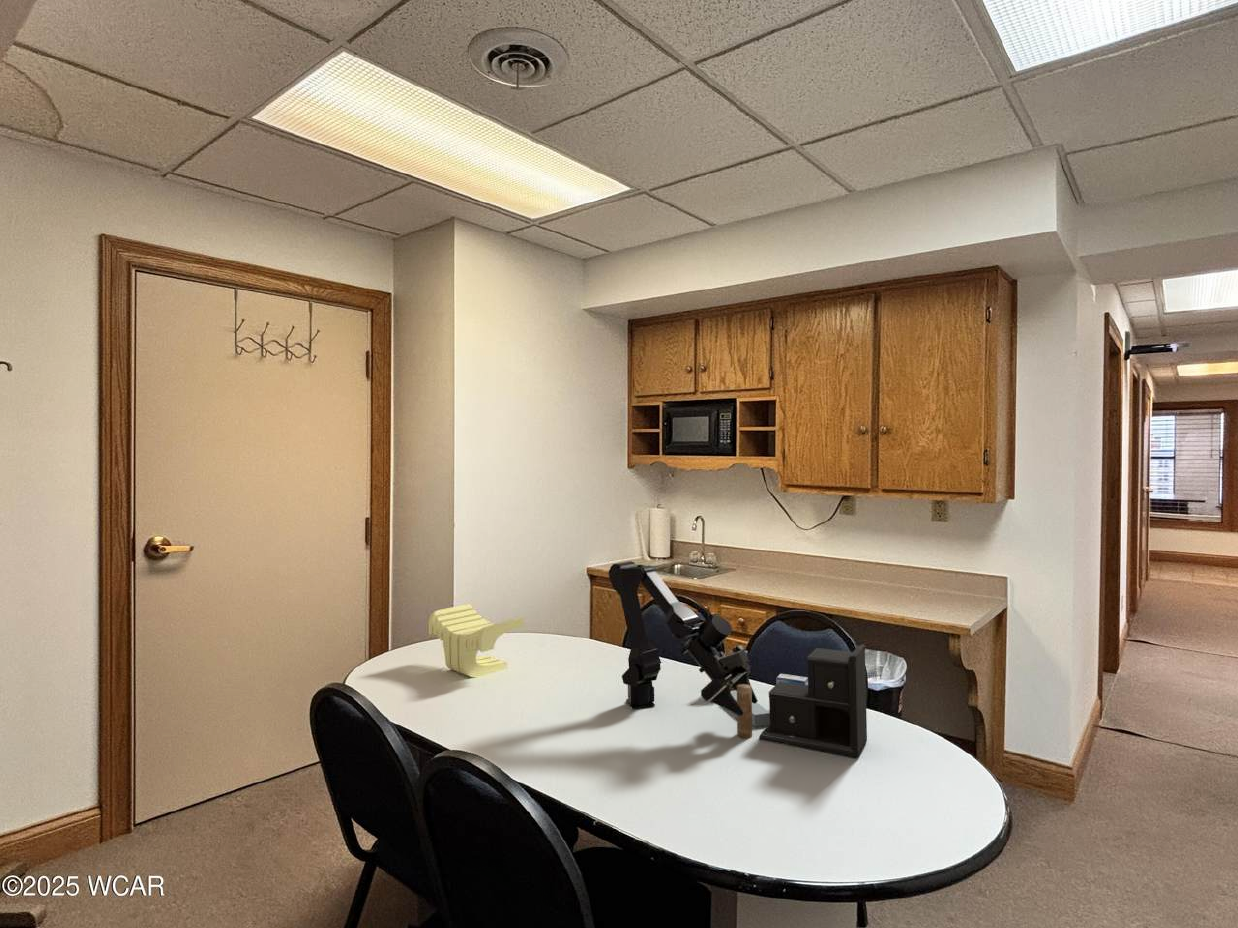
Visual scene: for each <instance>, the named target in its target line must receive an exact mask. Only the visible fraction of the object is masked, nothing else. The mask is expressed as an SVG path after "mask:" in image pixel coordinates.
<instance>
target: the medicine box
mask: <svg viewBox="0 0 1238 928" xmlns="http://www.w3.org/2000/svg"><path fill="white" fill-rule="evenodd" d="M775 680H776V682H775V683H776V684H777V683H778V682H779V681H780V682H788V683H795V684H803V685H808V676H801V675H800V676H799V675H793V674H787V673H779V675H778V676H777V677H776V679H775ZM776 684H775V685H776Z"/></svg>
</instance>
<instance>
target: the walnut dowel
mask: <svg viewBox="0 0 1238 928" xmlns="http://www.w3.org/2000/svg"><path fill="white" fill-rule="evenodd" d="M752 689H753V687H752V685H751V686H750V685H747V684H740V685H737V703H738V705H739V706H740V708H741V709H742V711H743V714H742V715H741V716H739V715H737V714H736V726H737V727H736V735H737V737H739V738H741V739H749V738H752V737H753V725H752Z"/></svg>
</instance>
